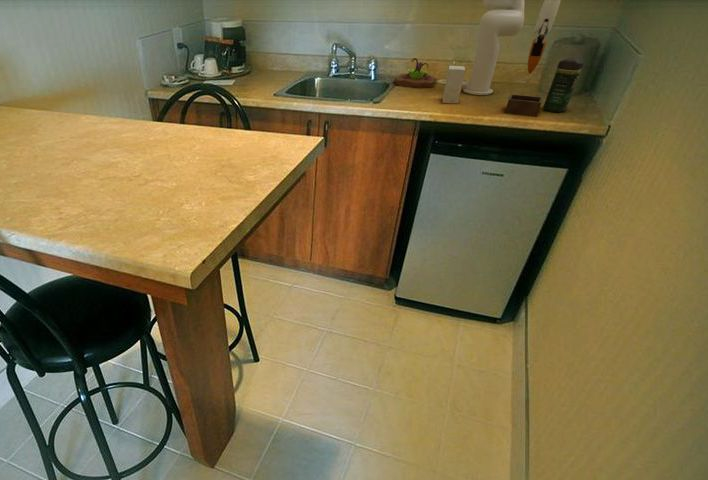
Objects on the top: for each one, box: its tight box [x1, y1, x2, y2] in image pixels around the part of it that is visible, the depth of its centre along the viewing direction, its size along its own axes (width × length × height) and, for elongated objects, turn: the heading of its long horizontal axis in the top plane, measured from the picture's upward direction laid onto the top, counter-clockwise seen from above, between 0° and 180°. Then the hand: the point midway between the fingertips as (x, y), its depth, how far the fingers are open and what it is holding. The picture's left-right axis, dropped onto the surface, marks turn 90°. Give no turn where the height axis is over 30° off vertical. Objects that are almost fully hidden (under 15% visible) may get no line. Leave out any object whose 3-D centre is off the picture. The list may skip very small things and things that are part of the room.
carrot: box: [527, 29, 551, 74], centre depth 149 cm, size 5×5×15 cm
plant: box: [394, 57, 437, 89], centre depth 199 cm, size 20×20×11 cm
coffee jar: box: [542, 56, 585, 113], centre depth 157 cm, size 10×8×19 cm
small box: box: [442, 65, 466, 104], centre depth 171 cm, size 8×6×13 cm
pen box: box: [504, 93, 543, 117], centre depth 159 cm, size 11×9×5 cm
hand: (535, 54), depth 149 cm, fingers closed on carrot, 4 cm apart
